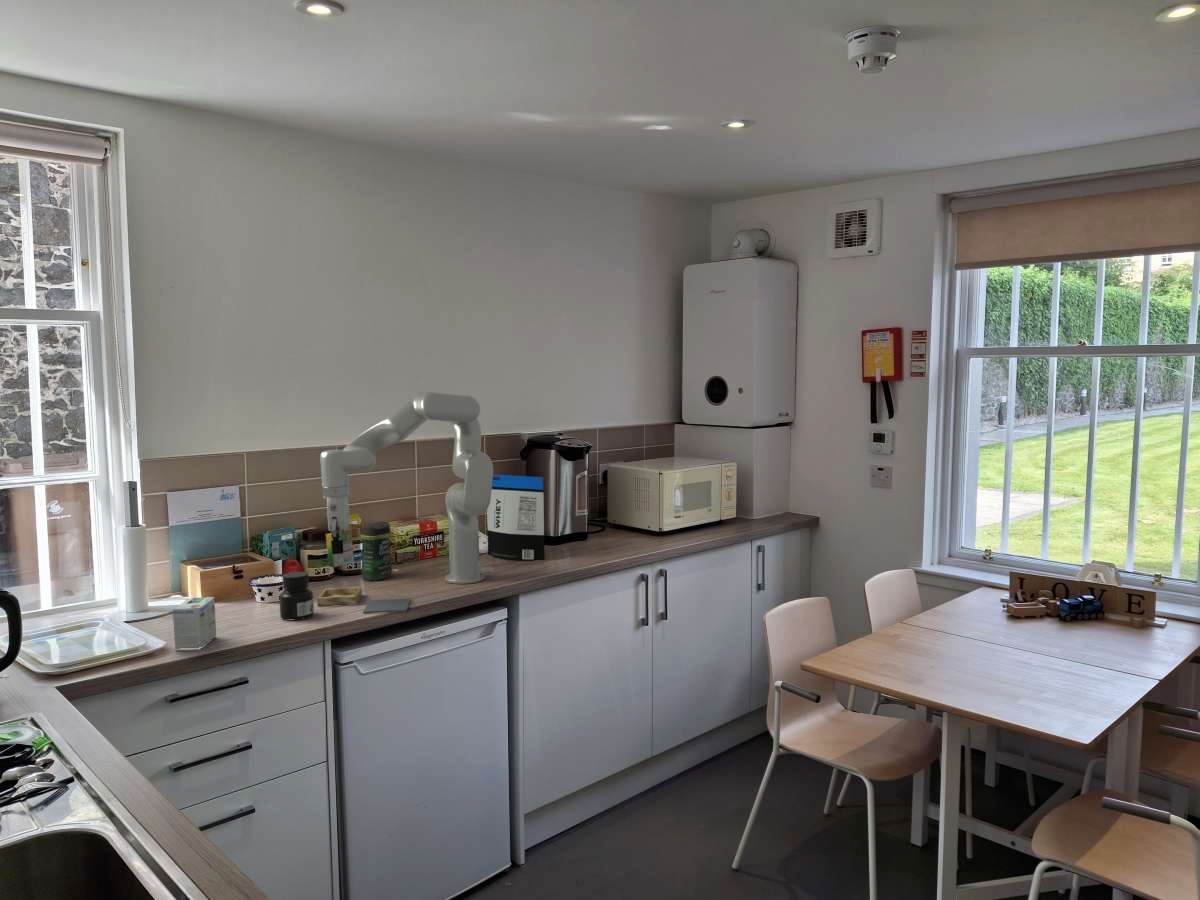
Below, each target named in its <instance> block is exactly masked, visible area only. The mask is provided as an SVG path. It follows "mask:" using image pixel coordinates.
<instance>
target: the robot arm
mask: <svg viewBox="0 0 1200 900" xmlns="http://www.w3.org/2000/svg"><path fill="white" fill-rule="evenodd" d="M478 401H479V400H477V399H476V398H474V397H473V396H470V395H461V394H451V393H450V394H449V393H441V392H433V391H432V392H431V391H430V392H429V391H420V392H417V393H415V394H414V395H412V396H411V397H410V398H408V400H406V401H404V403H402V404H401V406H399V407H397V409H396V410H394V411H393V412H392V413H390V414H389V415H388V416H386V417H385V418H384V419H383V420H381V421H380V422H377V423H376V424H375V425H373V426H371V427H370V428H368V429H367V430H365V431H363V432H362V433H360V434H359V435H358V436H357V437H355V438H354V439H353V440H352V441H350V442H349V443H348V444H347V445H346V446H344V448H343V449H328V450H327V449H326V450H323V451H322V452H321V453H320V455H319V458H320V459H319V460H320V462H319V463H320V473H321V486H322V487H321V489H322V498H323V499H325V500H326V513H327V516H326V517H327V527H328V531H329V532H330V533H331V546H332V554H343V540H341V538H342V530H343V531H345V530H347V528H348V527H349V525H350V524H351V516H350V515H351V513H350V505H349V500H348V499H349V498H348V497H349V496H350V481H349V474H350V473H351V474H355V473H356V474H364V473H368V472H370V471H371V470H373V469H374V467H375V466H376V464H377V458H376V457H377V456H376V455H375V453H377V452H379V451H381V450H382V449H384V448H386V447H388V446H391V445H395V444H398V443H401V442H402V441H404V440H406V439H407V438H408V437H409V436H411V435H412V434H413V433H414V432H415V431H417V430H418V428H420V427H421V426H422V425H423V424H424V423H425V422H427V421H428V420H431V421H438V422H449V424H450V425H451V426H452V428H453V433H454V444H453V445H454V446H453V453H452V454H453V455H452V466H451V467H452V468H451V469H452V471H453V472H452V473H453V474H454V475H455V476H456V477H458V478H459V479H464V482H456V483H454V484H452V485H451V486H449V487H448V489H447V491H446V493H445V498H444V500H445V507H446V512H447V521H448V541H449V542H448V545H449V547H448V548H449V549H448V551H449V553H448V554H449V574H447V575H445V579H444V580H445V582H447V583H450V584H459V585H463V584H464V585H467V584H473V583H474V584H475V583H479V582H482V581H483V580H484V579H485V575H486V574H488V575H489V574H492V575H493V574H494V567H490V566H486V567H485V566H481V563H482V562H481V563H480V540H479V539H480V538H479V529H480V528H479V520H478V517H479V516H481V515H484V514H485V513H486V512H487V509H488V507H489V504H490V499H491V491H492V481H493V475H494V464H493V461H492V459H491V457H490V456H489V455H488V454H487V453H485V452H483V451H482V431H481V430H482V428H481V426H480V422H479V420H478V417H479V416H480V414H481V406H480V403H479V402H478ZM351 525H352V524H351ZM337 529H338V530H337ZM338 533H339V534H338Z"/></svg>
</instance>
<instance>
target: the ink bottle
mask: <svg viewBox="0 0 1200 900" xmlns="http://www.w3.org/2000/svg"><path fill="white" fill-rule="evenodd" d="M309 580H310V579H309V573H308V572H306V571H292V572H288V573H284V574H282V589H283V591H282V592H281V593H280V594H279V613H280V619H282V618H283V619H282V620H284V619H302V620H304V619H303V618H306V619H309V618H312V616H314V614H315V607H314V606H315V605H314V604H315V603H314V592H313V590H312V589H310V588H309V587H310V586H309V582H310V581H309ZM308 617H309V618H308Z"/></svg>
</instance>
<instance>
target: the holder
mask: <svg viewBox="0 0 1200 900" xmlns="http://www.w3.org/2000/svg"><path fill="white" fill-rule="evenodd" d="M362 588H363V587H361V586H360V587H356V586H355V587H337V588H332V587H331V588H324V589H323V590H322V591H321V593H320V594H319V595H318V597H317V598H316V600H317V607H318V606H320V607H332V606H331V605H343V606H351V605H350V604H353V605H352V606H356V605H357V604H358V603H357V602H359V601H360V599H361V598H362V596H363V589H362ZM360 597H361V598H360ZM348 604H349V605H348ZM355 604H356V605H355Z"/></svg>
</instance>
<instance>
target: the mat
mask: <svg viewBox="0 0 1200 900" xmlns="http://www.w3.org/2000/svg"><path fill="white" fill-rule="evenodd" d="M411 601H412V598H390V599H389V598H388V599H387V598H386V599H369V600H368V602H367V604H366V606H365V607H364V610H362V613H365V614H372V613H371V612H388V613H405V612H406V613H407V611H408V608H409V607H408V606H410V604H409V603H411Z"/></svg>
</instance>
